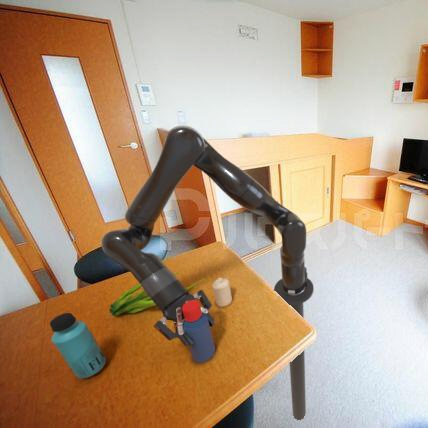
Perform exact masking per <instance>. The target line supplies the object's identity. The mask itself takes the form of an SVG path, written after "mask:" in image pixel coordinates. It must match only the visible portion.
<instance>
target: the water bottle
mask: <svg viewBox="0 0 428 428" xmlns="http://www.w3.org/2000/svg"><path fill="white" fill-rule="evenodd" d="M183 331H184V333H186V334H187V335H188V336H189V337H190V339H191V340H192V341H193V342H194V344H192V345H191V346H188V349H189V352H190V355H191V358H192V361H193V362H195V363H196V364H203V363H206V362H208V361H209V360H211V359H212V357H214V355H215V353H216V345H215V341H214V337H213V333H212V330H211V327H210V325H209V321H208V317H207V315H206V314H205V313H203V312H202V314H201V316H200V318H199V319H197V320H195V321H193V322H188V321H186V319H184V320H183Z"/></svg>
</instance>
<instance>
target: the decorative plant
mask: <svg viewBox="0 0 428 428" xmlns="http://www.w3.org/2000/svg"><path fill="white" fill-rule="evenodd" d="M171 257H173V255H170V256H168V257H166V258H164V259H161V261H162V262H164V261H165V260H167V259H169V258H171ZM184 268H185V267H183V268H182V269H181V270H179V271H178V272H177V273H173V274H174V275H175V276H177V275H179V273H181V272H182V271H183V270H184ZM208 279H210V277H207V278H203V279H200V280H198V281H196V282H194V283H193V284H192V285H190V286H188V287H185V288H186V290H187V291H189V290H191V289H192V288H194V287H195V286H196V285H198V284H199V283H200V282H202V281H204V280H208ZM135 294H136V295H135ZM109 306H110V308H109V309H108V310H109V313H110V314H111V316H113V317H117V316H118V315H121V314H125V313H128V314H135V313H137V312H141V311H143V310H145V309H148V308H151V307H155V306H157V305H156V304H155V303H154V302H153V301H152V299H151V298H150V297H148V295H147V293H146V292H145V291H144V289H143V287H142V286H141V284H140V283H139V282H138V283H137V284H136V285H135V286H133V287H131V288H129V289H128V290H126V291H124V292H123V293H121V294H120V296H119V297H118V298H117V300H115V301H114V302H113V303H111V304H109Z"/></svg>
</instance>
